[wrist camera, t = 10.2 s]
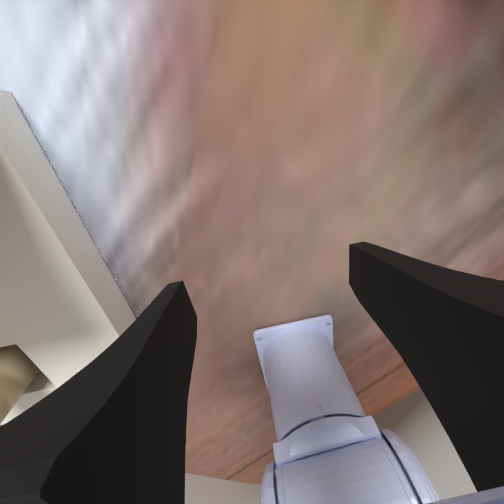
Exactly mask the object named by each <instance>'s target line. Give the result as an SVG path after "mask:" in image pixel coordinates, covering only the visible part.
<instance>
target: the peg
mask: <svg viewBox="0 0 504 504" xmlns="http://www.w3.org/2000/svg"><path fill="white" fill-rule="evenodd" d="M39 371H40V369H39V368H38V367H37V366H36V365H35V364H34V363H33V361H32V360H31V359H30V358H29V357H28V356H27V355H26V354H25V353H24V352H23V351H22V350H21V349H20V348H19V346H18V345H17V344H14V345H9V346H5V347H0V424H1V423H2V421H3V420H4V419H5V417H6V416H7V415H8V413H9V412H10V410H11V409H12V408H13V406H14V405H15V404H16V402H17V401H18V400H19V398H20V397H21V395H22V394H23V393H24V391H25V390H26V389H27V387H28V386H29V385H30V383H31V382H32V380H33V379H34V378H35V376H36V375H37V374H38V372H39Z"/></svg>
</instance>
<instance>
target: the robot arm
mask: <svg viewBox="0 0 504 504" xmlns="http://www.w3.org/2000/svg"><path fill="white" fill-rule="evenodd" d="M349 284H350V286H351V288H352V290H353V291H354V293H355V295H356V297H357V298H358V300H359V302H360V303H361V305H362V306H363V307H364V309H365V310H366V311H367V312H368V314H369V315H370V316H371V318H372V319H373V320H374V321H375V323H376V324H377V325H378V327H379V328H380V329H381V330H382V332H383V333H384V334H385V336H386V337H387V338H388V339H389V341H390V342H391V343H392V345H393V346H394V347H395V349H396V350H397V351H398V353H399V354H400V356H401V357H402V359H403V360H404V362H405V363H406V365H407V367H408V368H409V370H410V371H411V373H412V375H413V376H414V378H415V379H416V381H417V383H418V384H419V386H420V388H421V389H422V391H423V393H424V394H425V396H426V398H427V399H428V401H429V402H430V404H431V406H432V408H433V410H434V411H435V413H436V415H437V417H438V418H439V420H440V422H441V424H442V426H443V427H444V429H445V431H446V433H447V434H448V436H449V438H450V440H451V442H452V443H453V446H454V447H455V449H456V451H457V453H458V455H459V457H460V459H461V460H462V462H463V464H464V466H465V468H466V470H467V472H468V474H469V476H470V478H471V480H472V482H473V484H474V486H475V488H476V490H477V492H476V493H471V494H467V495H462V496H458V497H453V498H449V499H444V500H439V498H438V496H437V494H436V492H435V490H434V488H433V486H432V484H431V482H430V480H429V479H428V477H427V475H426V473H425V472H424V470H423V468H422V466H421V465H420V463H419V462H418V460H417V458H416V457H415V455H414V454H413V452H412V451H411V449H410V448H409V446H408V445H407V444H406V443H405V442H404V441H403V439H402V438H400V437H399V436H397V435H396V434H394V433H393V432H391V431H390V430H389V429H383V430H379V429H378V427H377V426H376V423H375V421H374V420H373V418H372V416H366V415H365V413H364V411H363V409H362V407H361V405H360V402H359V400H358V398H357V396H356V394H355V392H354V390H353V388H352V386H351V384H350V382H349V380H348V378H347V376H346V374H345V372H344V370H343V368H342V366H341V364H340V362H339V360H338V358H337V356H336V354H335V351H334V347H333V319H332V317H331V316H330V315H323V316H318V317H314V318H309V319H304V320H300V321H295V322H291V323H286V324H281V325H277V326H272V327H268V328H263V329H259V330H255V331H254V332H253V337H254V341H255V345H256V348H257V352H258V356H259V360H260V364H261V368H262V372H263V376H264V380H265V384H266V387H267V389H268V390H269V396H270V402H271V408H272V413H273V419H274V425H275V431H276V436H277V442H276V443H274V444H273V450H274V457H275V460H274V461H271V462H268V463H267V465H266V469H265V472H264V474H263V477H262V481H261V504H504V281H501V280H496V279H491V278H486V277H481V276H477V275H473V274H468V273H464V272H460V271H456V270H452V269H448V268H444V267H441V266H438V265H434V264H431V263H427V262H424V261H421V260H418V259H415V258H412V257H409V256H406V255H403V254H400V253H397V252H394V251H391V250H389V249H386V248H383V247H380V246H377V245H374V244H371V243H367V242H360V243H355V244H350V245H349ZM326 323H327V324H326ZM196 339H197V316H196V313H195V311H194V308H193V305H192V303H191V300H190V298H189V295H188V293H187V290H186V288H185V285H184V282H183V281H179V282H174V283H170V284H168V285H167V286H166V287H165V288H164V289H163V290H162V291H161V292H160V293H159V295H158V296H157V297H156V298H155V299H154V300H153V301H152V302H151V304H150V305H149V306H148V307H147V308H146V309H145V310H144V311H143V312H142V314H141V315H140V316H139V317H138V318H137V319H136V320H135V321H134V322H133V323H132V324H131V325H130V326H129V327H128V328H127V329H126V330H125V331H124V332H123V333H122V334H121V335H120V336H119V337H118V338H117V339H116V340H115V341H114V342H113V343H112V344H111V345H110V346H109V347H108V348H107V349H105V350H104V351H103V352H102V353H101V354H100V355H99V356H97V357H96V358H95V359H94V360H93V361H92V362H90V363H89V364H88V365H87V366H85V367H84V368H83V369H81V370H80V371H79V372H78V373H76V374H75V375H74V376H73V377H71V378H70V379H69V380H67V381H66V382H65V383H64V384H62V385H61V386H60V387H58V388H57V389H56V390H54V391H53V392H51V393H50V394H49V395H47V396H46V397H44V398H43V399H42V400H40V401H39V402H37V403H36V404H34V405H33V406H31V407H30V408H28V409H27V410H25V411H24V412H23V413H21V414H20V415H18V416H17V417H15V418H13V419H12V420H10V421H9V422H7V423H6V424H4V425H3V426H1V427H0V504H184V503H185V499H184V498H185V497H184V496H185V446H186V421H187V402H188V393H189V386H190V379H191V373H192V366H193V360H194V353H195V346H196Z"/></svg>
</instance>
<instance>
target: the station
mask: <svg viewBox="0 0 504 504" xmlns="http://www.w3.org/2000/svg"><path fill="white" fill-rule="evenodd" d="M135 320H136V318H135V316H134V314H133V312H132V310H131V309H130V307H129V305H128V303H127V301H126V300H125V298H124V296H123V294H122V292H121V291H120V289H119V287H118V285H117V283H116V282H115V280H114V278H113V276H112V274H111V273H110V271H109V269H108V267H107V265H106V264H105V262H104V260H103V258H102V256H101V255H100V253H99V251H98V249H97V247H96V246H95V244H94V242H93V240H92V238H91V237H90V235H89V233H88V231H87V229H86V227H85V226H84V224H83V222H82V220H81V218H80V217H79V215H78V213H77V211H76V209H75V208H74V206H73V204H72V202H71V200H70V199H69V197H68V195H67V193H66V191H65V190H64V188H63V186H62V184H61V182H60V181H59V179H58V177H57V175H56V173H55V172H54V170H53V168H52V166H51V164H50V163H49V161H48V159H47V157H46V155H45V153H44V152H43V150H42V148H41V146H40V144H39V143H38V141H37V139H36V137H35V135H34V134H33V132H32V130H31V128H30V126H29V125H28V123H27V121H26V119H25V117H24V116H23V114H22V112H21V110H20V108H19V107H18V105H17V103H16V101H15V99H14V98H13V96H12V94H11V92H10V91H4V90H0V347H5V346H9V345H14V344H17V345H18V346H19V348H20V349H21V350H22V351H23V352H24V353H25V354H26V355H27V356H28V357H29V358H30V359H31V360H32V361H33V363H34V364H35V365H36V366H37V367H38V368H39V369H40V371H39V372H38V374H37V375H36V376H35V378H34V379H33V380H32V382H31V383H30V385H29V386H28V387H27V389H26V390H25V391H24V393H23V394H22V395H21V397H20V398H19V400H18V401H17V402H16V404H15V405H14V406H13V408H12V409H11V410H10V412H9V413H8V415H7V416H6V417H5V419H4V420H3V421H2V423H1V424H0V425H3V424H6V423H7V422H9V421H10V420H12V419H13V418H15V417H17V416H18V415H20V414H21V413H23V412H24V411H25V410H27V409H28V408H30V407H31V406H33V405H34V404H36V403H37V402H39V401H40V400H42V399H43V398H44V397H46V396H47V395H49V394H50V393H51V392H53V391H54V390H56V389H57V388H58V387H60V386H61V385H62V384H64V383H65V382H66V381H67V380H69V379H70V378H71V377H73V376H74V375H75V374H76V373H78V372H79V371H80V370H81V369H83V368H84V367H85V366H87V365H88V364H89V363H90V362H92V361H93V360H94V359H95V358H96V357H97V356H99V355H100V354H101V353H102V352H103V351H104V350H105V349H107V348H108V347H109V346H110V345H111V344H112V343H113V342H114V341H115V340H116V339H117V338H118V337H119V336H120V335H121V334H122V333H123V332H124V331H125V330H126V329H127V328H128V327H129V326H130V325H131V324H132V323H133V322H134V321H135Z"/></svg>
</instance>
